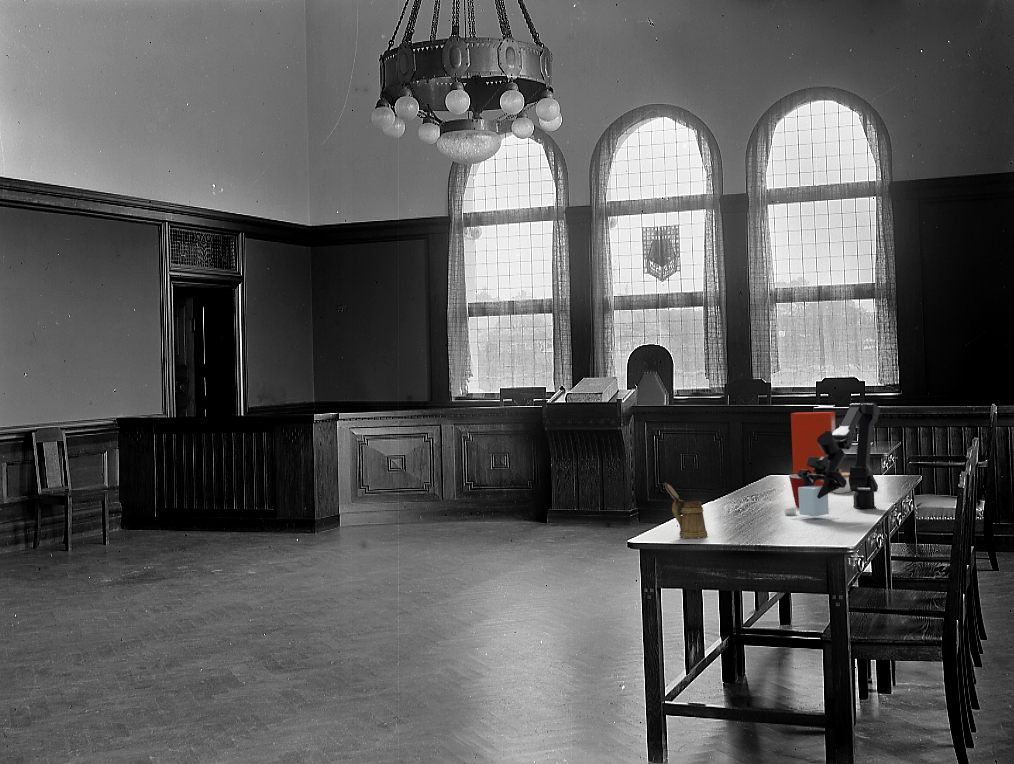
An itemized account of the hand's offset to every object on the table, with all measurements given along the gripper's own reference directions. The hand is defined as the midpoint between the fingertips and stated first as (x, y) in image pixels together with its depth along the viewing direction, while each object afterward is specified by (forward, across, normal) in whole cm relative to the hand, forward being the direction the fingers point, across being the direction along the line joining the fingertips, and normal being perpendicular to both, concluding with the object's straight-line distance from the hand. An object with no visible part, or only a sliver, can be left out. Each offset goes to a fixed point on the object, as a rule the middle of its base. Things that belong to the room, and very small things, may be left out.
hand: (810, 496), depth 382 cm
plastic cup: (-11, -27, +23) cm, 37 cm away
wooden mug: (+42, -6, -30) cm, 52 cm away
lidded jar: (-38, -45, +51) cm, 78 cm away
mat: (+5, 0, +7) cm, 8 cm away
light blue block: (+3, 0, +5) cm, 6 cm away
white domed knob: (+4, -14, +8) cm, 16 cm away
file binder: (-47, -70, +59) cm, 103 cm away
